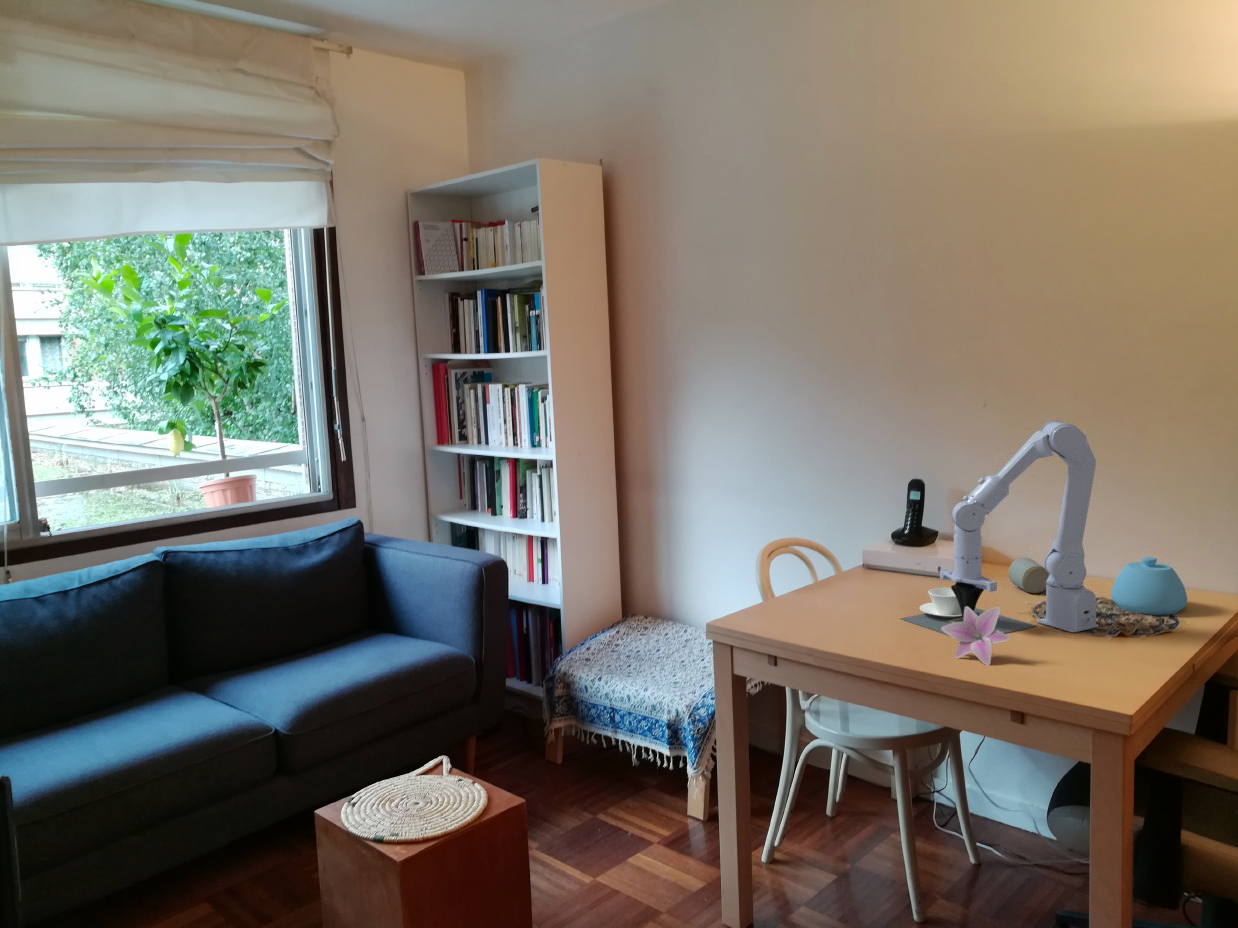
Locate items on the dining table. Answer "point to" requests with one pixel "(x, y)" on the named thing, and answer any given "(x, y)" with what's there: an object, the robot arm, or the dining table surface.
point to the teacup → (942, 603)
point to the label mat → (937, 622)
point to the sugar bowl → (1149, 588)
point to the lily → (976, 633)
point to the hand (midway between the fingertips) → (967, 616)
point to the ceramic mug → (1028, 575)
